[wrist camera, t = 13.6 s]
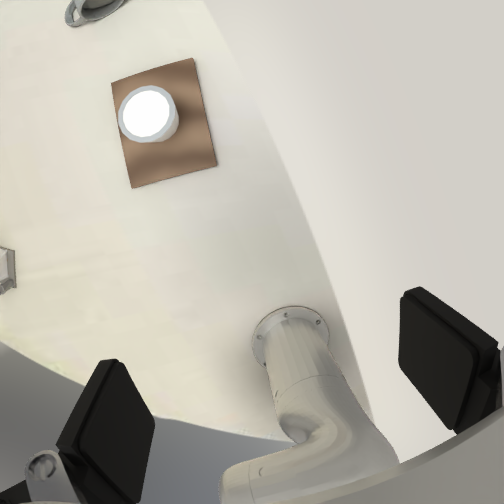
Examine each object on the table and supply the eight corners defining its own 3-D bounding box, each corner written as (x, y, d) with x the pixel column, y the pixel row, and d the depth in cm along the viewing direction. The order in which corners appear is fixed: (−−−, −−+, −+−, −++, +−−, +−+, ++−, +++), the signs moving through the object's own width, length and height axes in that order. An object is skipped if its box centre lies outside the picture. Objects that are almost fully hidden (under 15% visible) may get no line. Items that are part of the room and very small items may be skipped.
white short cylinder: (178, 92, 35) (169, 77, 29) (188, 139, 37) (180, 132, 31) (130, 106, 35) (113, 96, 29) (139, 153, 37) (123, 150, 30)
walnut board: (217, 165, 40) (216, 165, 39) (134, 188, 40) (131, 188, 38) (194, 61, 36) (192, 57, 34) (114, 85, 35) (111, 83, 34)
